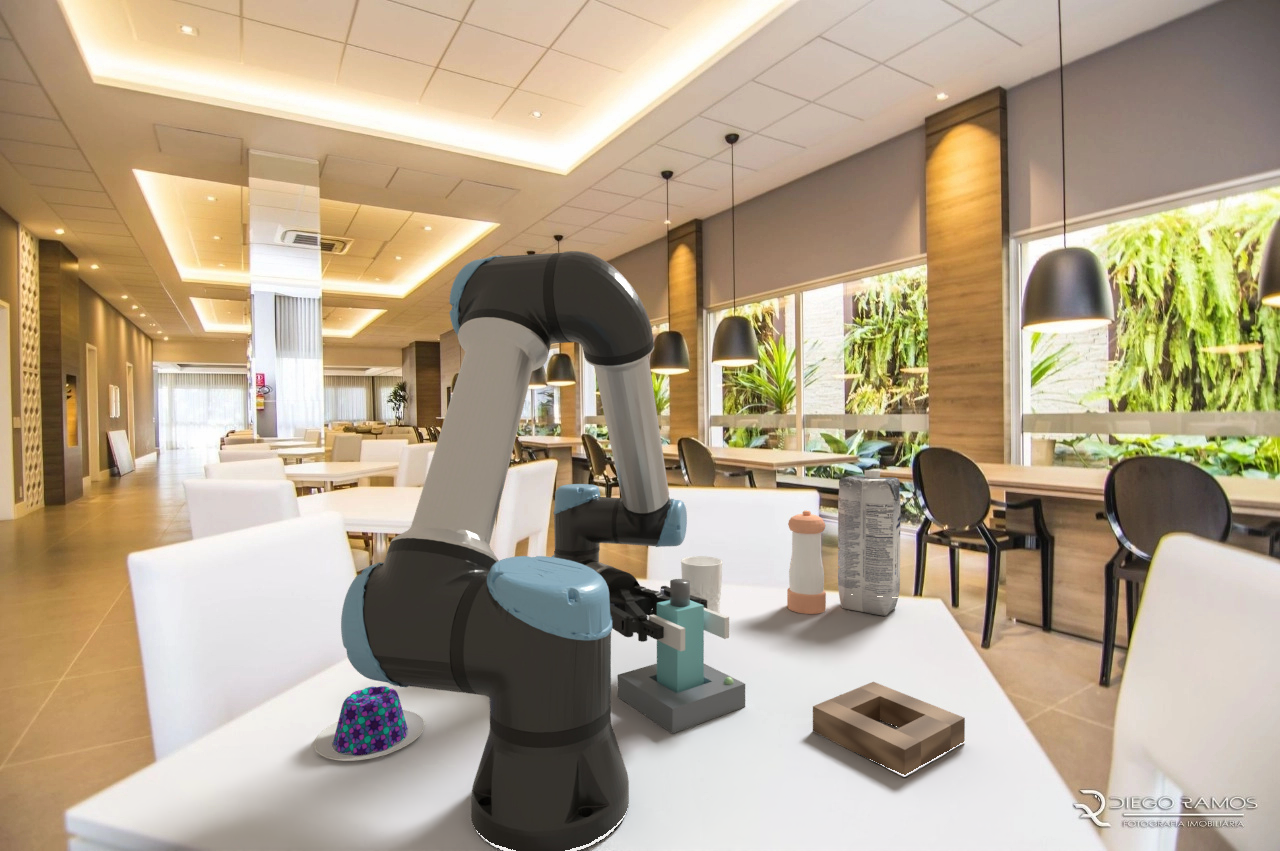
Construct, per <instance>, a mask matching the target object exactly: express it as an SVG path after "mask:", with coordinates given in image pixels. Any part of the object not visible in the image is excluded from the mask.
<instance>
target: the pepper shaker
mask: <svg viewBox="0 0 1280 851" xmlns="http://www.w3.org/2000/svg"><path fill="white" fill-rule="evenodd" d="M787 524H788V528H789V530H790V531H791V532H792V534H791V540H792V541H791V542H792V543H791V558H790V563H789V564H790V565H789V569H788V577H789V578H788V581H789V583H788V584H789V587H788V588H787V592H786V593H787V596H786V597H787V601H786V602H787V603H786V604H787V609H789V611H792V612H795V613H797V614H804V615H815V614H816V615H817V614H823V613H824V612H826V610H827V609H826V607H827V605H826V604H827V602H826V601H827V594H826V591H825V589H824V587H825V571H824V564H823V559H822V533H823V532H824V531H825V529H826V522H825V521H824V519H823V517H820V516H819V515H816V514H813V513H812V512H811V511H809V510H804V511H802V513H800V514H795V515H793V516H791V517H790V519H789V520H788V523H787Z"/></svg>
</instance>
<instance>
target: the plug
mask: <svg viewBox="0 0 1280 851" xmlns="http://www.w3.org/2000/svg"><path fill="white" fill-rule="evenodd" d="M669 588H670V600H668V601H663V602H659V603H657V616H659V617H661V618H663V619H665V620H668V621H670V622H672V623H675V624H677V625H679V626H681V627H684V628H685V650H684V651H679V650H677V649H675V648H673V647H670V646H668V645H666V644H664V643H662V642H660V641H658V640H656V664H657V682H658V683H660V684H662V685H663V686H665V687H667V688H668V689H670V690H672V691H674V692H675V693H679V692H682V691H685V690H688V689H691V688H694V687H697V686H700V685H703V684H704V664H705V663H704V661H705V660H704V657H705V655H704V654H705V652H704V651H705V648H704V646H705V645H704V644H705V640H704V638H705V633H704V632H705V630H704V605H702V604H699V603H696V602H694V601H691V600H690V581H689V580H686V579H682V578H675V579H673V578H672V579H671V580H670V582H669Z"/></svg>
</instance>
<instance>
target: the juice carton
mask: <svg viewBox="0 0 1280 851" xmlns="http://www.w3.org/2000/svg"><path fill="white" fill-rule="evenodd" d="M900 485H901V484H900V480H899V478H897V477H893V476H892V477H881V471H880V470H872V469H871V470H870V469H869V470H868V469H867V470H866V469H864V475H858V474H857V475H856V474H854V475H849V476H846V477H842V478H840V479H839V482H838V497H837V498H838V500H837V506H838V510H837V514H838V515H837V517H838V518H837V549H838V550H837V589H838V596H839V602H840V606H841V608H842V609H843V610H844V609H845V610H849V611H855V612H859V613H860V612H861V613H865V614H871V615H876V616H883V617H886V616H887V615H889V613H890V612H892V611H893V610H894V609H895V608H896V606H897V603H898V600H899V596H900V590H901V589H900V588H901V492H900V491H901V490H900ZM851 594H853V595H851ZM877 596H883V597H877ZM892 597H898V598H892Z"/></svg>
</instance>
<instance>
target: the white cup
mask: <svg viewBox="0 0 1280 851" xmlns="http://www.w3.org/2000/svg"><path fill="white" fill-rule="evenodd" d="M680 563H681V564H680V567H681V570H680V571H681V579H686V580H689V581H690V595H692V596H695V597H699V598H702V599H705V600H707V609H709V610H712V611H715V612H717V613H720V611H721V610H720V609H721V597H722V582H723V581H722V580H723V579H722V577H723V560H722V559H720V558H718V557H714V556H707V555H706V556H705V555H704V556H703V555H696V556H687V557H684V558H682V559H681V560H680Z"/></svg>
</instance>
